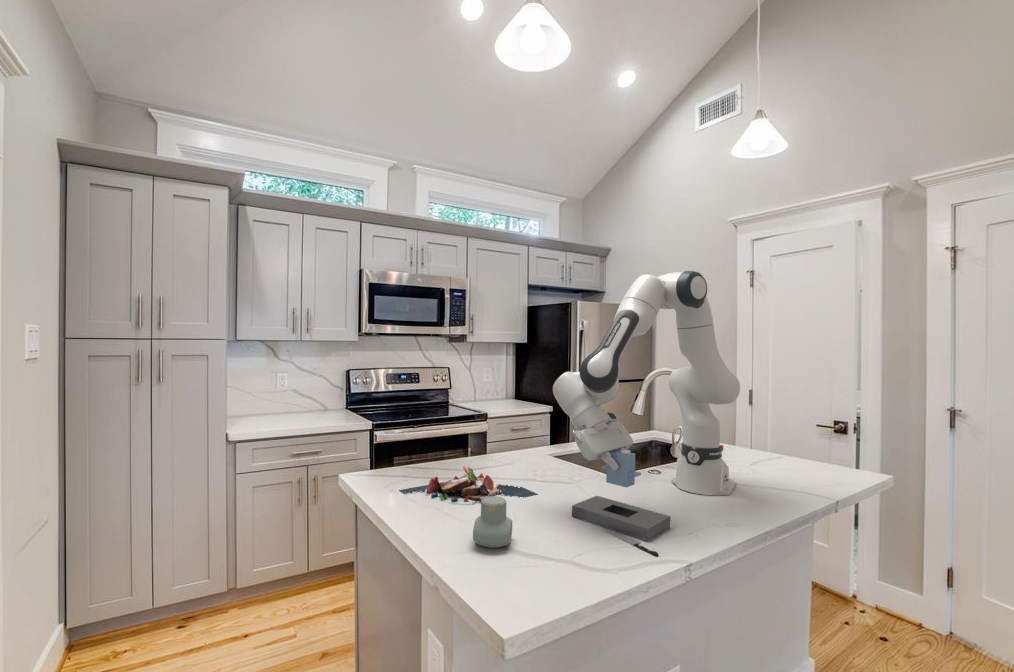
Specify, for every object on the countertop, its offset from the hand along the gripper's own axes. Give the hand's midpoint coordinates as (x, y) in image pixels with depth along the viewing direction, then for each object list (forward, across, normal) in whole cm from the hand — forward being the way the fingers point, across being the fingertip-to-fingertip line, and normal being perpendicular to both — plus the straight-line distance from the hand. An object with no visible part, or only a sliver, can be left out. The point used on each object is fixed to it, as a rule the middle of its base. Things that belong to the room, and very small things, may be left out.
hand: (623, 467), depth 129 cm
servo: (+3, 0, +4) cm, 4 cm away
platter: (-21, -12, +44) cm, 50 cm away
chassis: (+10, 0, +11) cm, 15 cm away
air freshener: (0, -33, +21) cm, 39 cm away
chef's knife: (+16, -8, +6) cm, 19 cm away
